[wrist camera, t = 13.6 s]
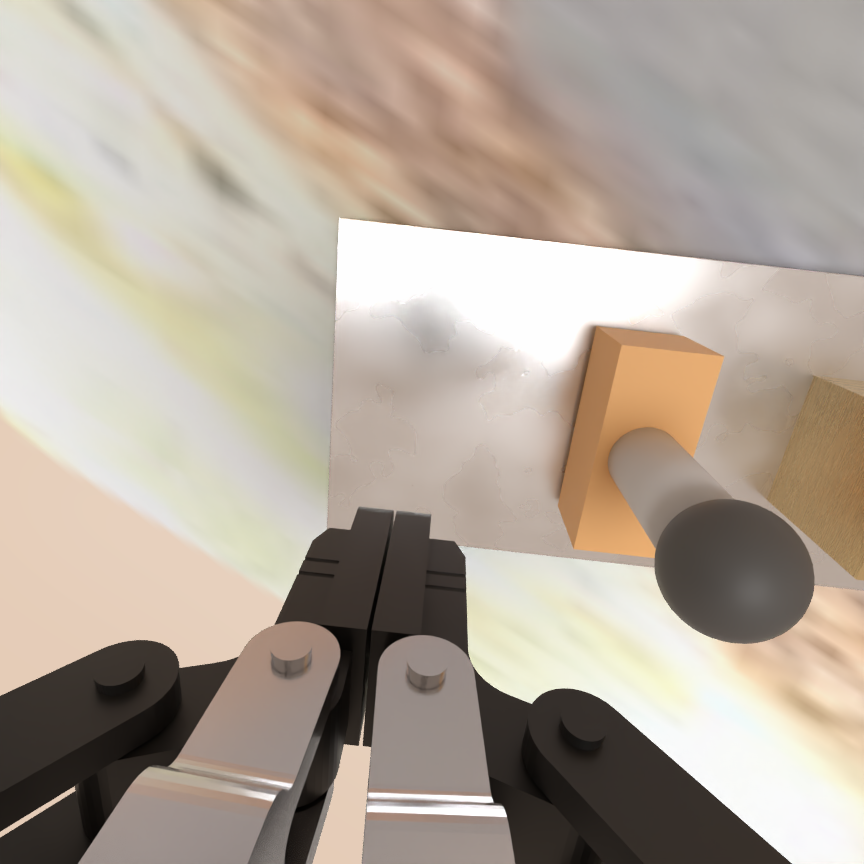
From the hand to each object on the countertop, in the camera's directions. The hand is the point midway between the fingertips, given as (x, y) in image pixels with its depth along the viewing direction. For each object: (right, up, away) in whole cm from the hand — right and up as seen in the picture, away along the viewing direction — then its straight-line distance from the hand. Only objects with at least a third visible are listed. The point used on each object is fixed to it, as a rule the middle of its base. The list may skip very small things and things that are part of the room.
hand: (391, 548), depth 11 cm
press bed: (+12, +3, +11) cm, 16 cm away
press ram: (+8, +3, +9) cm, 12 cm away
